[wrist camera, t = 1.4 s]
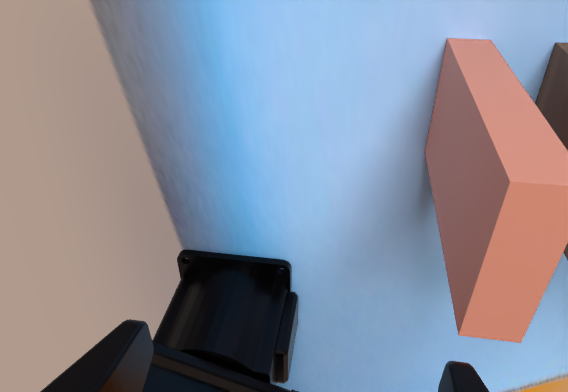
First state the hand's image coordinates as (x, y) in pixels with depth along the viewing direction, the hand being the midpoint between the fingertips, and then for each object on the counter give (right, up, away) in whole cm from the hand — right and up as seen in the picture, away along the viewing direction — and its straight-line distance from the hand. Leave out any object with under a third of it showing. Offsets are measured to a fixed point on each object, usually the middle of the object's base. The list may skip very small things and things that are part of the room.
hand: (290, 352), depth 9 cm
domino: (+7, +7, +10) cm, 14 cm away
